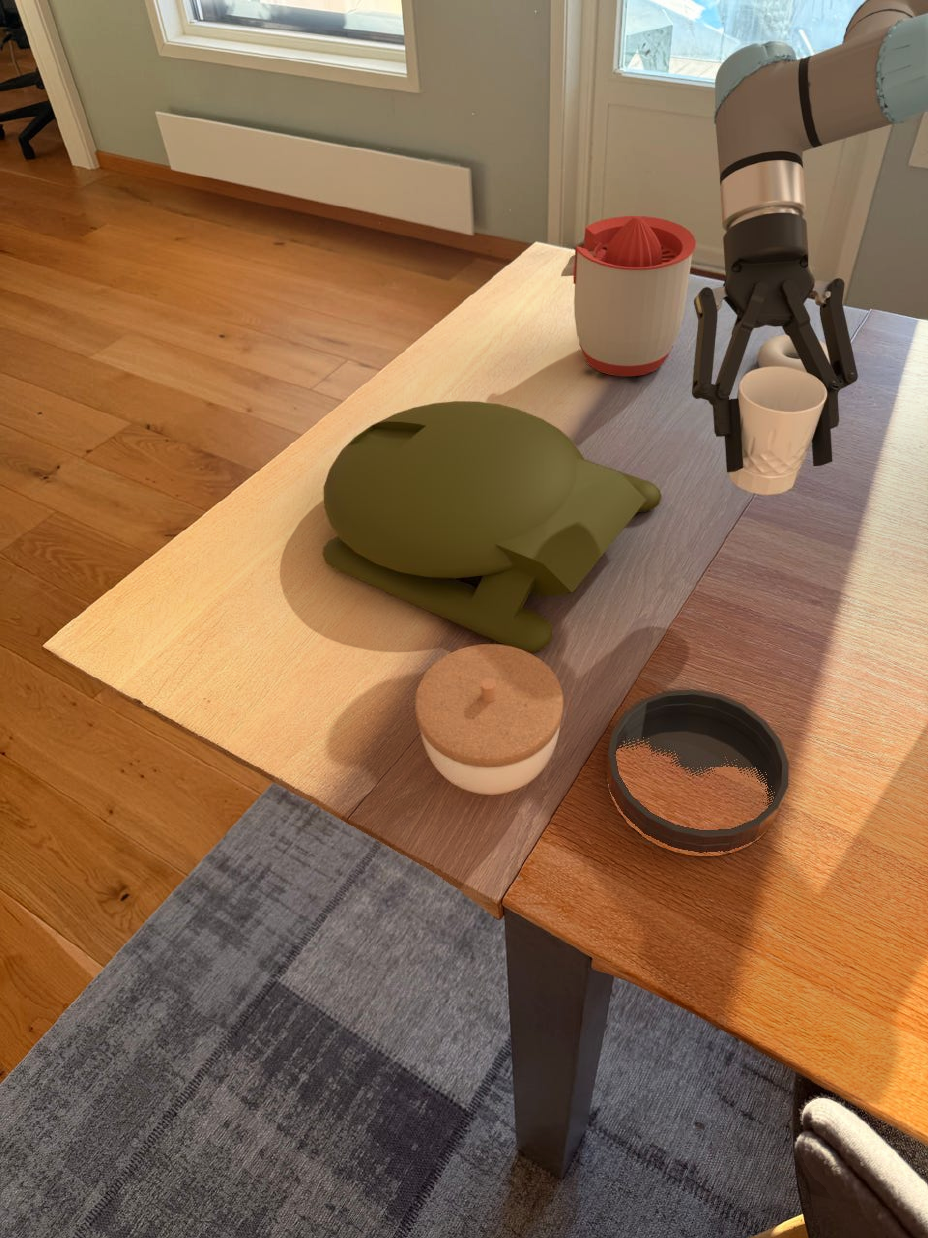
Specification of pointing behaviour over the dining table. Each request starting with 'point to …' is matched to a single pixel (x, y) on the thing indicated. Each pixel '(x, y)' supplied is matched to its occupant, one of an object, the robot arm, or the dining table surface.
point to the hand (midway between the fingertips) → (778, 466)
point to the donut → (782, 353)
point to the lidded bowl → (489, 717)
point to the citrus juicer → (630, 292)
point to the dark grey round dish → (700, 759)
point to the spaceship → (475, 514)
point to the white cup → (776, 426)
